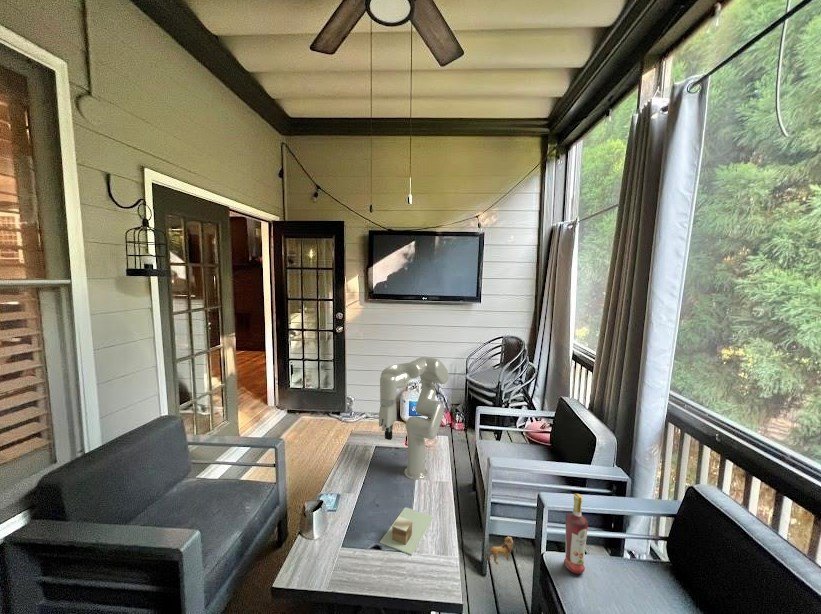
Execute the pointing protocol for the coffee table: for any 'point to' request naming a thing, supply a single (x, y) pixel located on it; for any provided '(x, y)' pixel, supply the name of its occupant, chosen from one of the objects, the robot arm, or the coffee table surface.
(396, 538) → the walnut cube
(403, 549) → the rubber mat
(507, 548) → the lion figurine
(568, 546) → the liquor
